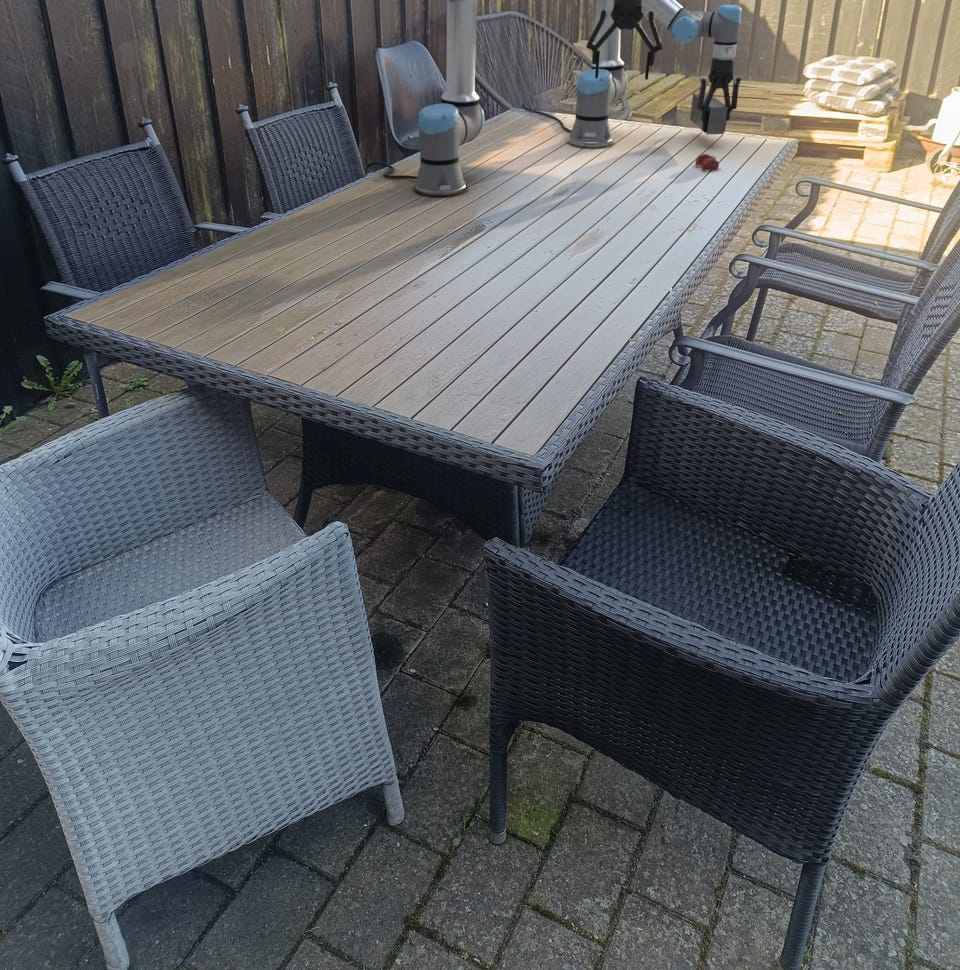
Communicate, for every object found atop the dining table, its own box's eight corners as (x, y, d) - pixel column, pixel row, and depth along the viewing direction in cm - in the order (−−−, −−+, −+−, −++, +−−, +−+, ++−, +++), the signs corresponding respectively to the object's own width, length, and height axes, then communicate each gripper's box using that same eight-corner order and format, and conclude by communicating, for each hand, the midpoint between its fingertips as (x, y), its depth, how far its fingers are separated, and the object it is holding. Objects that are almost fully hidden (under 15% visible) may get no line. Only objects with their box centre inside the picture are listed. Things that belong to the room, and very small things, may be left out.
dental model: (710, 150, 279) (721, 156, 273) (708, 163, 282) (719, 170, 275) (694, 152, 278) (705, 158, 272) (693, 165, 281) (704, 172, 274)
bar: (689, 119, 313) (693, 94, 308) (705, 119, 313) (709, 93, 308) (706, 134, 294) (710, 107, 289) (723, 134, 294) (727, 106, 289)
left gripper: (677, -12, 221) (667, 76, 233) (582, -14, 224) (576, 74, 236) (678, -9, 215) (667, 81, 227) (580, -11, 218) (575, 79, 230)
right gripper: (698, 60, 279) (689, 134, 293) (754, 59, 280) (743, 132, 293) (692, 56, 285) (683, 129, 299) (747, 55, 286) (736, 127, 299)
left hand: (621, 78), depth 232 cm, fingers open, 13 cm apart
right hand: (713, 130), depth 296 cm, fingers closed on bar, 6 cm apart
